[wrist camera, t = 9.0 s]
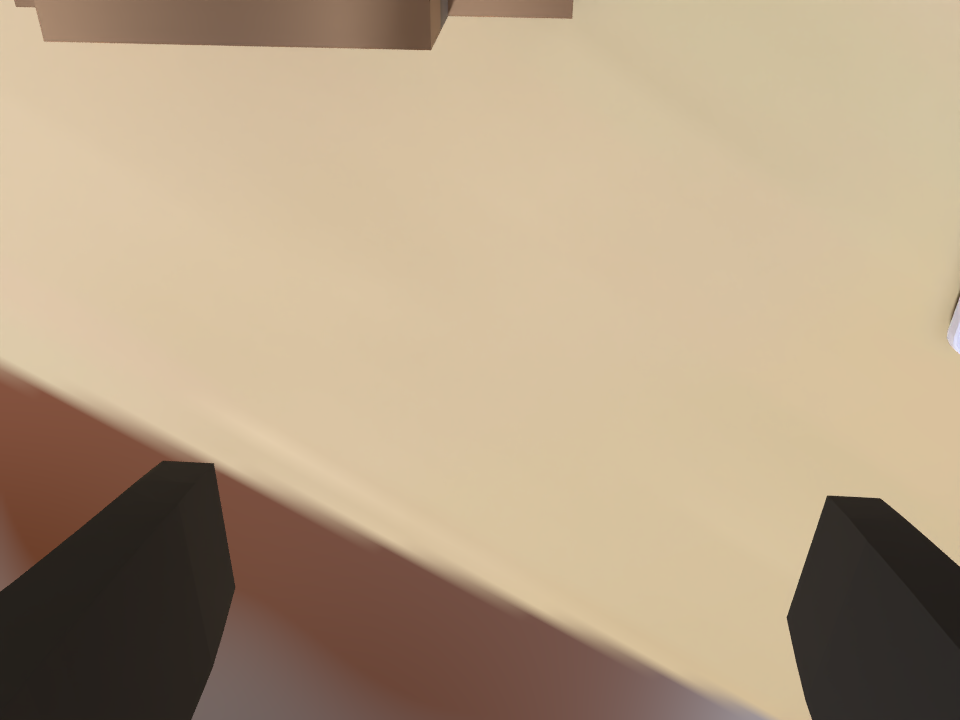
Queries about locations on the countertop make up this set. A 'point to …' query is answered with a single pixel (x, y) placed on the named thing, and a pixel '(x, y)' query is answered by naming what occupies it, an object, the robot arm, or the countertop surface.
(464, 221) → the countertop surface
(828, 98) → the countertop surface
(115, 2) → the track base
